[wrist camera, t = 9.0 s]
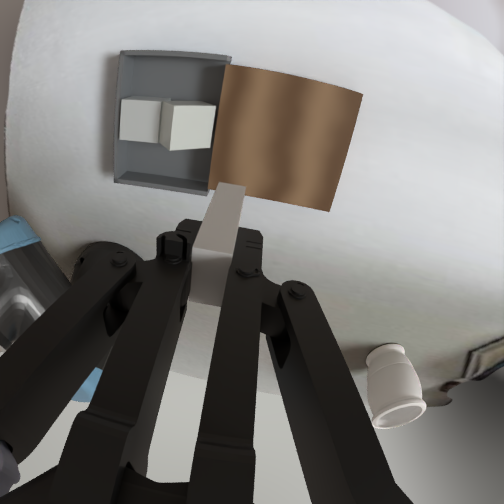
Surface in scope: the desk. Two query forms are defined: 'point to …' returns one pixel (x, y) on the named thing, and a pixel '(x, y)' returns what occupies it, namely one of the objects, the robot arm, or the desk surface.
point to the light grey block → (141, 118)
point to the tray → (178, 89)
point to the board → (282, 136)
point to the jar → (393, 387)
